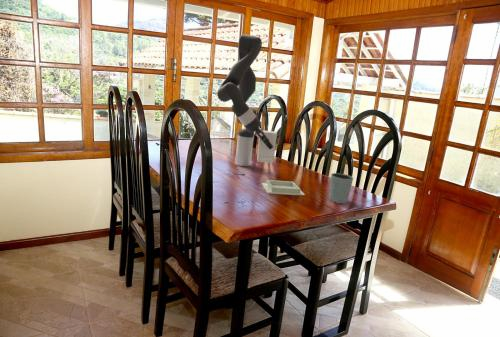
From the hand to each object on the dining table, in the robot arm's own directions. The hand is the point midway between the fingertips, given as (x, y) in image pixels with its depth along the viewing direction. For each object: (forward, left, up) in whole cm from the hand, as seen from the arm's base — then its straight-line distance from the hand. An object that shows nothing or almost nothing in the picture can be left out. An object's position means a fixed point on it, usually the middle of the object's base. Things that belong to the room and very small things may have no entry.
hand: (270, 146), depth 171 cm
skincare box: (0, -2, -8) cm, 8 cm away
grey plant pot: (+18, +31, -20) cm, 41 cm away
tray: (+7, +7, -19) cm, 22 cm away
